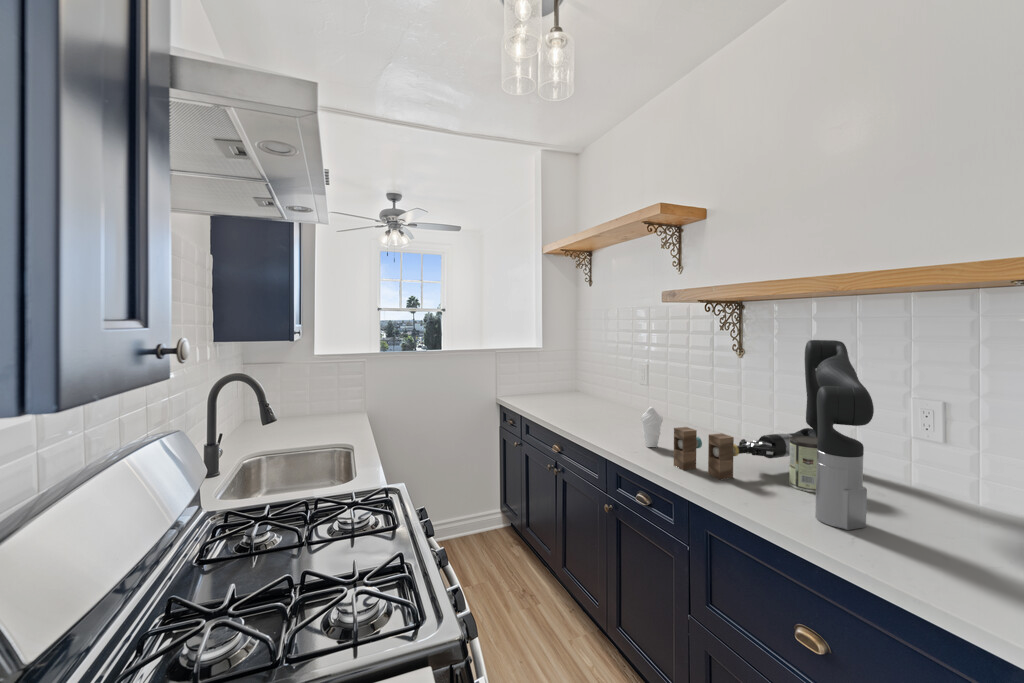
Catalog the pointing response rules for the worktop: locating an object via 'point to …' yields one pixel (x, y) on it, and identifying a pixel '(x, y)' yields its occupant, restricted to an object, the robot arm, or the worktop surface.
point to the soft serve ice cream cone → (651, 427)
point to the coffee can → (803, 463)
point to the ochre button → (735, 451)
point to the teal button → (698, 443)
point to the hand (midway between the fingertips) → (734, 450)
